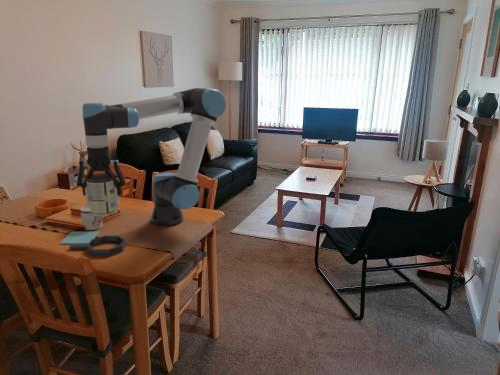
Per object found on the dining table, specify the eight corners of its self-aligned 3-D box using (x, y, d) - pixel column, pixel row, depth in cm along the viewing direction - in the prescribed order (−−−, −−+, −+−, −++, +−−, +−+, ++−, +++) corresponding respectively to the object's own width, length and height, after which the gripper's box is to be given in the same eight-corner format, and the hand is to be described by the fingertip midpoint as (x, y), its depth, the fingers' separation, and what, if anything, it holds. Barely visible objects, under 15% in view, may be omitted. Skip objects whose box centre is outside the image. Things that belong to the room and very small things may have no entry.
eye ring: (128, 241, 150) (128, 235, 149) (119, 255, 137) (119, 250, 136) (77, 241, 149) (77, 235, 148) (63, 256, 136) (62, 250, 135)
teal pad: (100, 232, 158) (99, 231, 158) (90, 244, 146) (90, 243, 146) (71, 232, 157) (71, 231, 157) (59, 244, 145) (59, 243, 145)
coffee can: (95, 207, 143) (91, 173, 139) (121, 207, 144) (118, 172, 140) (85, 216, 134) (81, 179, 130) (114, 216, 134) (110, 179, 130)
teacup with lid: (95, 231, 159) (92, 206, 155) (77, 229, 160) (74, 204, 157) (111, 222, 170) (109, 198, 167) (94, 220, 172) (91, 196, 168)
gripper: (131, 144, 136) (135, 200, 142) (70, 144, 135) (77, 200, 141) (126, 148, 129) (130, 206, 135) (61, 147, 127) (69, 206, 134)
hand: (103, 203), depth 138 cm, fingers closed on coffee can, 10 cm apart
